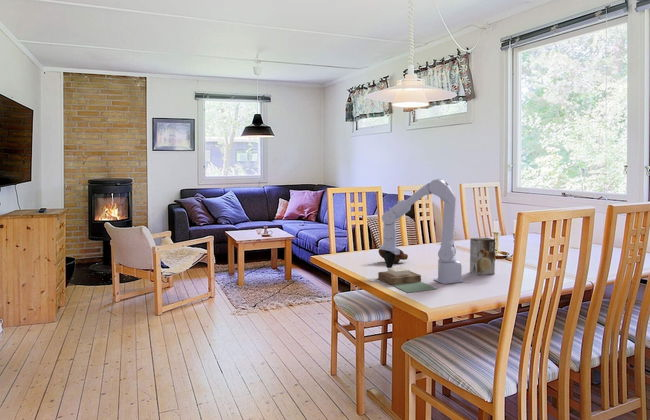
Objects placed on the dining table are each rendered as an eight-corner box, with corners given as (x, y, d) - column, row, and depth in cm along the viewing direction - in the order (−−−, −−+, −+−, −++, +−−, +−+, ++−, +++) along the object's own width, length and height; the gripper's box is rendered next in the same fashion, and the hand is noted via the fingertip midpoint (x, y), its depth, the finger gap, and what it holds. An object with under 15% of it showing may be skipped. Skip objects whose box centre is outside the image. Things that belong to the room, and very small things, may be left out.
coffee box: (486, 271, 218) (487, 237, 217) (494, 274, 212) (495, 239, 211) (469, 272, 216) (470, 238, 215) (476, 275, 210) (477, 240, 209)
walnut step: (405, 276, 210) (405, 269, 209) (420, 282, 199) (420, 275, 198) (378, 279, 205) (378, 272, 204) (392, 285, 193) (392, 278, 193)
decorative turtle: (375, 261, 241) (376, 246, 241) (403, 262, 244) (404, 247, 243) (380, 264, 232) (381, 248, 231) (409, 265, 234) (410, 249, 234)
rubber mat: (420, 282, 199) (420, 281, 199) (437, 289, 188) (437, 288, 188) (392, 285, 193) (392, 284, 193) (407, 292, 182) (407, 292, 182)
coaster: (401, 271, 206) (401, 266, 206) (409, 274, 200) (410, 270, 200) (387, 272, 204) (387, 268, 204) (395, 276, 197) (395, 271, 197)
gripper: (374, 236, 213) (373, 265, 214) (389, 240, 200) (389, 271, 201) (387, 235, 216) (387, 263, 217) (404, 239, 202) (403, 270, 204)
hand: (389, 267), depth 209 cm, fingers closed
